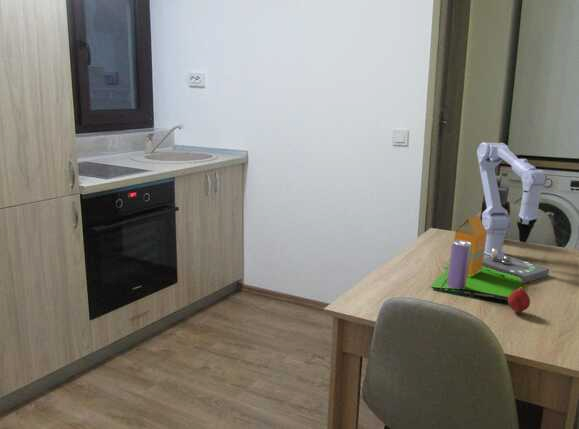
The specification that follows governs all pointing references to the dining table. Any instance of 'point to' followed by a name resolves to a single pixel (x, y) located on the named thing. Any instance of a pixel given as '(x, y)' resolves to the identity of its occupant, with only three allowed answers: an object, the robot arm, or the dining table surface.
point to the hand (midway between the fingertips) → (523, 239)
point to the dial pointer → (506, 258)
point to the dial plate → (516, 268)
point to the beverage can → (459, 264)
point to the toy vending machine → (503, 197)
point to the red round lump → (519, 300)
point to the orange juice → (473, 241)
